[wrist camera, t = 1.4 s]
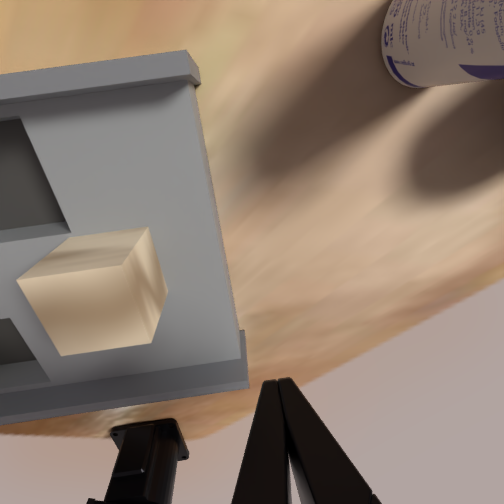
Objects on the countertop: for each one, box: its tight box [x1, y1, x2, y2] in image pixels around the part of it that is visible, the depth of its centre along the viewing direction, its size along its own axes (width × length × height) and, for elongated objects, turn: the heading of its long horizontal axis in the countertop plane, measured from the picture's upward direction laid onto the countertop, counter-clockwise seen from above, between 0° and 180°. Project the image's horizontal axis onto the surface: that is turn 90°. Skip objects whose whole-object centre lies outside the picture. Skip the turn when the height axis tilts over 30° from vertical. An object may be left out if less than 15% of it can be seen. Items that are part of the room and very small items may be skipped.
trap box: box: [0, 50, 249, 425], centre depth 17 cm, size 20×25×5 cm
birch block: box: [16, 227, 168, 356], centre depth 15 cm, size 4×4×4 cm
